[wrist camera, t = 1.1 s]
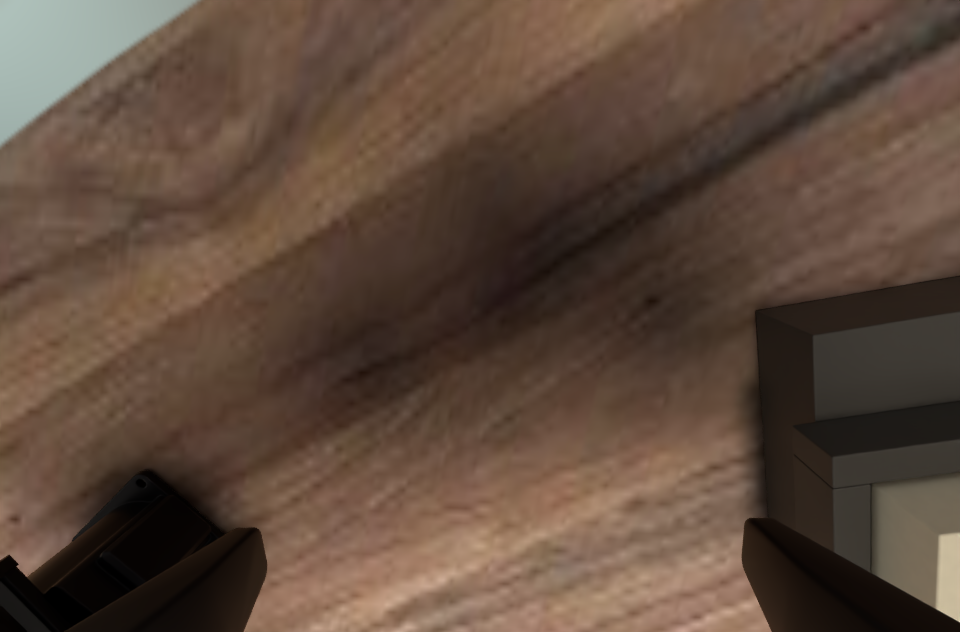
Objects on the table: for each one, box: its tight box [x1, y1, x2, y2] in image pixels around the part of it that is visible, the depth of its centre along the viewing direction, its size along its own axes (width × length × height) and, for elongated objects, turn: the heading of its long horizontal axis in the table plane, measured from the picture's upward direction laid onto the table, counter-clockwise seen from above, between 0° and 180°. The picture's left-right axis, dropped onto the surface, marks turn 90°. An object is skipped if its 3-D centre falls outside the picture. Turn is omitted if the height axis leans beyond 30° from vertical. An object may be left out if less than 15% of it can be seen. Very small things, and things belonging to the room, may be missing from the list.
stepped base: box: [756, 276, 960, 573], centre depth 18 cm, size 13×14×6 cm
